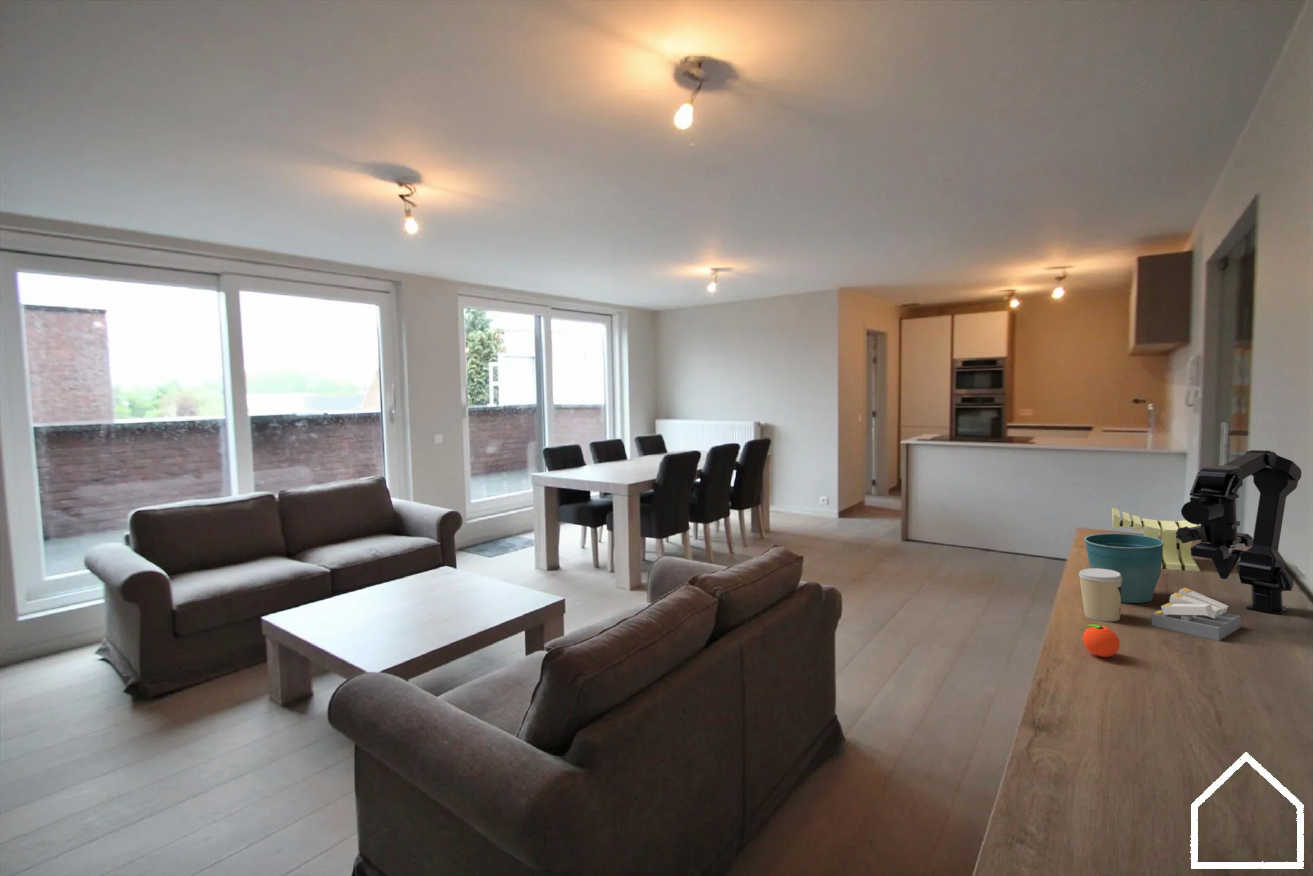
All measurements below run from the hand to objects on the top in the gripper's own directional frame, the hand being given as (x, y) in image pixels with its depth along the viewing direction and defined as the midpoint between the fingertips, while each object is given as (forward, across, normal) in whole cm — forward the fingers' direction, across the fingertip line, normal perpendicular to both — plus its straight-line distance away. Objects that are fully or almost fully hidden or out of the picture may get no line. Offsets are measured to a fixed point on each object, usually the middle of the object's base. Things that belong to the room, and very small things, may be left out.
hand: (1224, 578), depth 149 cm
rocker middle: (+6, +8, -3) cm, 11 cm away
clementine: (+10, +42, -9) cm, 45 cm away
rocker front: (+5, +13, -3) cm, 14 cm away
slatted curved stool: (+13, -49, -30) cm, 59 cm away
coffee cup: (+11, +17, -20) cm, 28 cm away
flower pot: (+12, -3, -23) cm, 26 cm away
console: (+11, +8, -3) cm, 14 cm away
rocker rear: (+6, +4, -3) cm, 8 cm away
